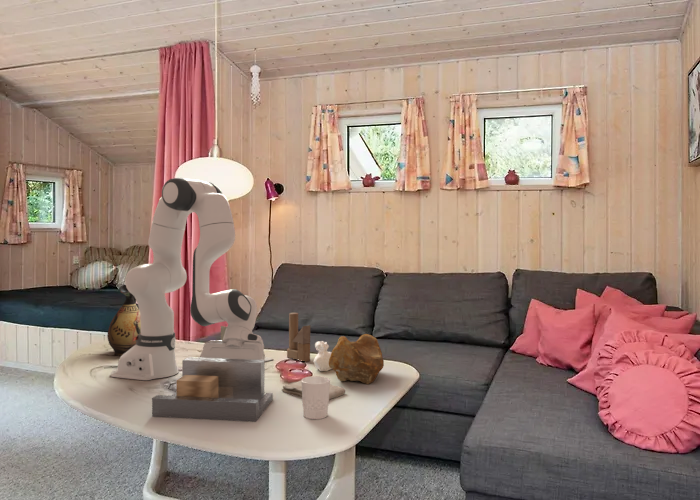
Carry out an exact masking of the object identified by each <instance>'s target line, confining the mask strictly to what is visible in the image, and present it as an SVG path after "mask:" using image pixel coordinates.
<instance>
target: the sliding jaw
mask: <svg viewBox="0 0 700 500" xmlns="http://www.w3.org/2000/svg"><path fill="white" fill-rule="evenodd" d="M265 363H266V362H265V360H253V359H226V358H200V356H199V357H194V356H193V357H192V356H187V357H185V358H184V359H182V363H181V365H182V371H181V372H182V376H181V377H183V376H184V375H202V376H218V398H233V399H256V400H259V401H260V400H261V399H262V397H263V396H264V395H265V374H266V373H265V367H266V366H265Z"/></svg>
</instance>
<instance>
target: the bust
mask: <svg viewBox="0 0 700 500" xmlns="http://www.w3.org/2000/svg"><path fill="white" fill-rule="evenodd" d="M314 348H315V349H316V351H317V354H316V355H315V357H314V359H313V361H312V362H313V363H314V367H315V369H318V370H319V371H320V372H328V371H331V370H333V369H332V368H330V367H329V359H330V356H331V353H332V351H328V349H329V348H330V346H329V344H328V343H327V341H324V340H321V341H320V340H319V341H316V342H315V343H314Z"/></svg>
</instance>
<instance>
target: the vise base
mask: <svg viewBox="0 0 700 500" xmlns="http://www.w3.org/2000/svg"><path fill="white" fill-rule="evenodd" d="M273 397H274V394H273V392H266V393H264V396H263V397H262V399H261V400H260V401H259V400H256V399H233V398H211V397H188V396H177V391H175V392H173V394H171V395H160V394H157V395H155V396H153V397H152V398H151V417H156V418H174V419H196V420H198V419H199V420H217V421H218V420H219V421H235V422H236V421H238V422H239V421H240V422H257V421H258V420H259V418H260V417H261V415H262V414H263V413H264V412H265V410H267V407H268V406H269V405H270V404H271V403H272V401H273V399H274V398H273Z"/></svg>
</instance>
